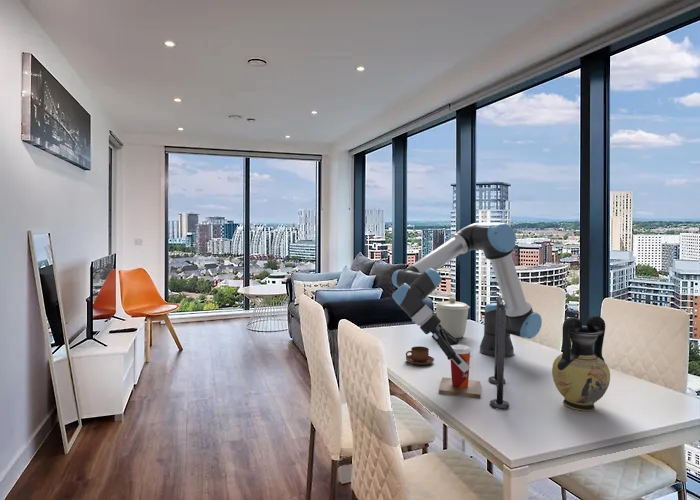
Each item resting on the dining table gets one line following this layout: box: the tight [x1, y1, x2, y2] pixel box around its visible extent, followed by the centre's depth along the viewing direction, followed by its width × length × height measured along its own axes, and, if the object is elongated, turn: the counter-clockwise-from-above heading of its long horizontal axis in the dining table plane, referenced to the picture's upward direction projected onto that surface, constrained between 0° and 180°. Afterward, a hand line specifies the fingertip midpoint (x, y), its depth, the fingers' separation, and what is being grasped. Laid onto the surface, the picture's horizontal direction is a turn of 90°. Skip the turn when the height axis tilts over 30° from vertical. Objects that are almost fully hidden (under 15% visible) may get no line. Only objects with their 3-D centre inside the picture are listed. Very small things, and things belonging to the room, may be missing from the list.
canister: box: [434, 296, 471, 339], centre depth 240 cm, size 18×18×21 cm
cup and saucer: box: [405, 345, 435, 366], centre depth 194 cm, size 12×12×6 cm
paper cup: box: [449, 344, 472, 388], centre depth 163 cm, size 8×8×14 cm
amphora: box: [551, 315, 611, 412], centre depth 149 cm, size 18×17×30 cm
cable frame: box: [488, 296, 510, 411], centre depth 159 cm, size 30×6×33 cm, turn 164°
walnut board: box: [438, 376, 481, 399], centre depth 164 cm, size 14×14×1 cm
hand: (467, 364), depth 162 cm, fingers open, 13 cm apart
